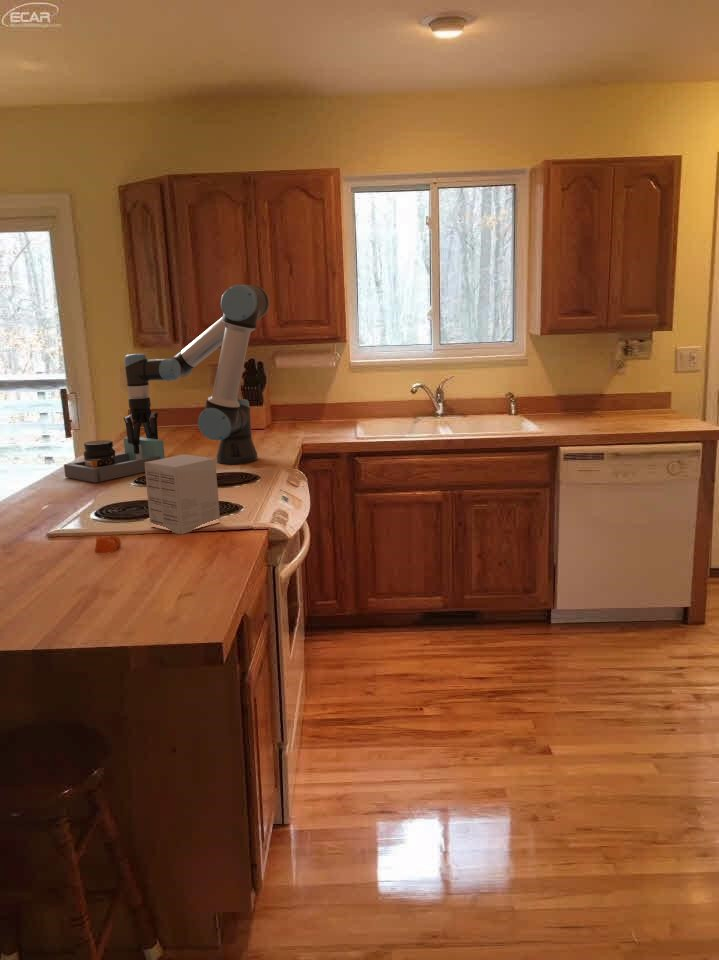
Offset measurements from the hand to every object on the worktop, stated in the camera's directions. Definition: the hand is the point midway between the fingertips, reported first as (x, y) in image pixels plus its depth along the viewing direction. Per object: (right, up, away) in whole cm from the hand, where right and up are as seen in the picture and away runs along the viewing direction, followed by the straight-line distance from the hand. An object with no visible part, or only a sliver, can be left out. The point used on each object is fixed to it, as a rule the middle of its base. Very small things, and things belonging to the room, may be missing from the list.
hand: (145, 460), depth 286 cm
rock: (+19, -24, -99) cm, 104 cm away
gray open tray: (-8, -5, -9) cm, 13 cm away
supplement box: (+33, -19, -81) cm, 89 cm away
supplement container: (-11, -6, -14) cm, 19 cm away
